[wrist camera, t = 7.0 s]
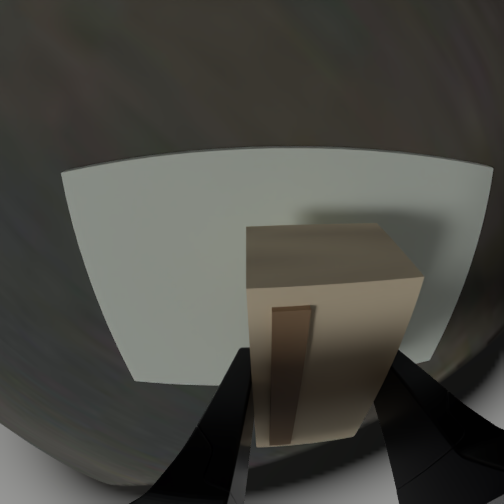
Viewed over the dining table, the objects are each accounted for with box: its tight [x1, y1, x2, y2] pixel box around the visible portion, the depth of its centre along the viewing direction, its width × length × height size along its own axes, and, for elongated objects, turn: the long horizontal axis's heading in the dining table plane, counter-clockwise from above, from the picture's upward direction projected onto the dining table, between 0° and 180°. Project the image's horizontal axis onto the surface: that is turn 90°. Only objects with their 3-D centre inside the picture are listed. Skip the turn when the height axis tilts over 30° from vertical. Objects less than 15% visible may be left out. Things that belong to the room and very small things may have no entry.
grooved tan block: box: [246, 223, 424, 447], centre depth 9 cm, size 8×4×3 cm, turn 2°
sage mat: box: [61, 146, 493, 385], centre depth 12 cm, size 18×12×1 cm, turn 92°
